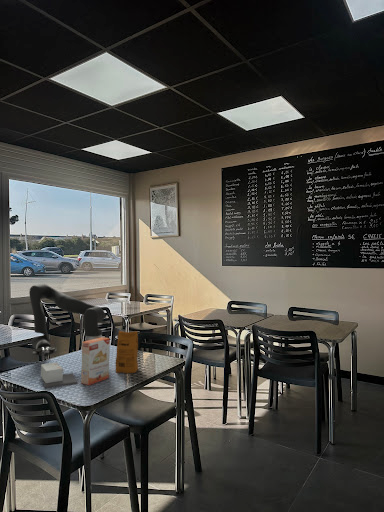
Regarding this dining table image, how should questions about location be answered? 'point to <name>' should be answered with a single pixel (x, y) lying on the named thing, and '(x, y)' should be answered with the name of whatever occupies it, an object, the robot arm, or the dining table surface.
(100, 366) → the cracker box
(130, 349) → the coffee package
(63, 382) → the mat
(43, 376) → the small box
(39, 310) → the robot arm
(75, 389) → the dining table surface
